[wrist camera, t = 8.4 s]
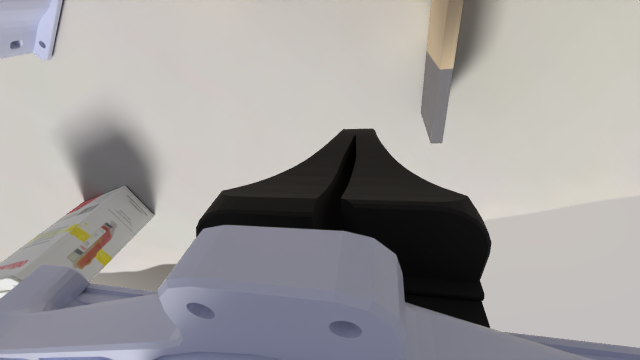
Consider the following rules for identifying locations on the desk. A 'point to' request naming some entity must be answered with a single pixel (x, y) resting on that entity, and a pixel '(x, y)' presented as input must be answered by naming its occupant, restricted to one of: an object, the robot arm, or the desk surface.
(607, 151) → the desk surface
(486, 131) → the desk surface
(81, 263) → the ink box
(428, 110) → the carton flap
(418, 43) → the desk surface
